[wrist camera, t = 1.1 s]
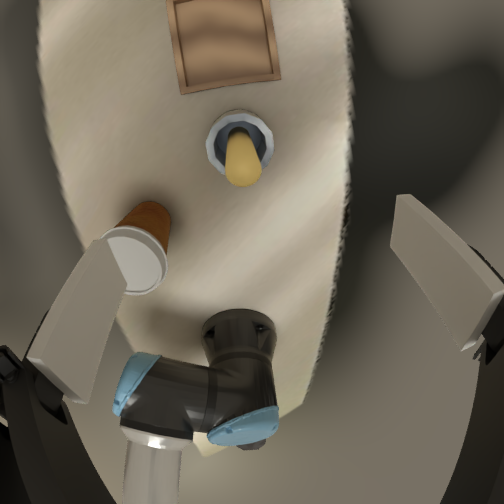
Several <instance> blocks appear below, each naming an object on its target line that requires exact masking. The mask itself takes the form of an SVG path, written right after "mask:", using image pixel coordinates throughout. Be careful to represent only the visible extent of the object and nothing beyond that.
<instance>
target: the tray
mask: <svg viewBox="0 0 504 504" xmlns="http://www.w3.org/2000/svg"><path fill="white" fill-rule="evenodd" d="M166 5H167V12H168V19H169V26H170V33H171V39H172V45H173V52H174V58H175V64H176V70H177V75H178V81H179V87H180V92H181V95H182V94H187V93H192V92H197V91H202V90H207V89H212V88H218V87H224V86H230V85H237V84H244V83H252V82H261V81H272V80H280V79H281V75H280V67H279V60H278V53H277V46H276V40H275V33H274V27H273V21H272V15H271V9H270V4H269V0H166Z"/></svg>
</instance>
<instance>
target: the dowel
mask: <svg viewBox="0 0 504 504" xmlns="http://www.w3.org/2000/svg"><path fill="white" fill-rule="evenodd" d="M261 171H262V168H261V164H260V161H259V158H258V156H257V153H256V150H255V147H254V145H253V142H252V139H251V137H250V134H249V132H248V130H247V129H245V128H243V127H235V128H233V129H231V130H230V132H229V134H228V140H227V152H226V164H225V174H226V177H227V179H228V180H229V181H230V182H231V183H232V184H234V185H236V186H239V187H247V186H250V185H252V184H254V183H255V182H256V181H257V180H258V179H259V177H260V175H261Z"/></svg>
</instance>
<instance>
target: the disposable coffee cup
mask: <svg viewBox="0 0 504 504" xmlns="http://www.w3.org/2000/svg"><path fill="white" fill-rule="evenodd" d="M170 225H171V219H170V216H169V213H168V212H167V210H166V209H165V208H164V207H163V206H161V205H160V204H158V203H155V202H143V203H141V204H139V205H138V206H137V207H136V208H134V209H133V210H132V211H131V212H130V213H129V214H128V215H127V216H126V217H125V218H124V219H123V220H121V221H120V222H119V223H118V224H117V225H116V226H115V227H114V228H113V229H110V230H108V231H106V232H105V233H104V234H103V235H102V236H101V237H100V239H104V238H106V239H107V241H108V243H109V246H110V248H111V250H112V253H113V255H114V257H115V259H116V261H117V263H118V266H119V268H120V270H121V272H122V274H123V276H124V278H125V280H126V282H127V284H128V285H127V287H126V290H125V292H124V293H125V294H128V295H144V294H147V293H150V292H151V291H153V290H154V289H156V287H158V286H159V285H160V284H161V283H162V282H163V281H164V279H165V278H166V275H167V272H168V260H167V247H168V239H169V232H170Z"/></svg>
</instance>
